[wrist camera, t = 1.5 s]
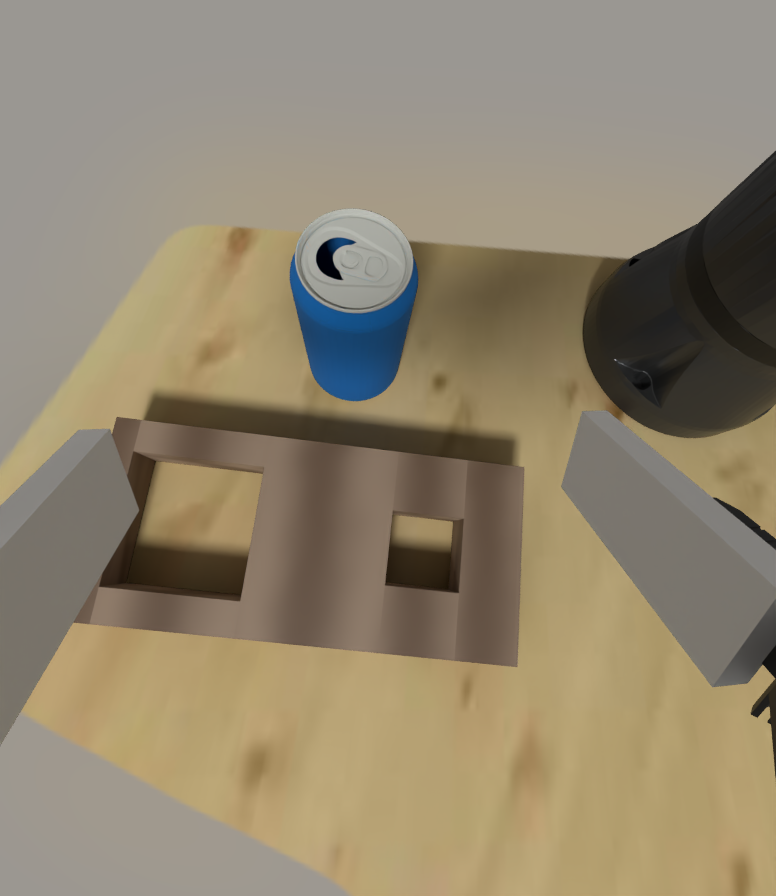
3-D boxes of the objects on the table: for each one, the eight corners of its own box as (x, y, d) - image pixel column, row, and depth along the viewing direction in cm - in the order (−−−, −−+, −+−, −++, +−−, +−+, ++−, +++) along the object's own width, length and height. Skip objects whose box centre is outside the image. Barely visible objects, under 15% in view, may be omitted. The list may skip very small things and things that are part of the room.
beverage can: (325, 314, 33) (310, 185, 21) (407, 337, 33) (436, 222, 21) (299, 390, 31) (266, 296, 20) (384, 415, 31) (402, 336, 20)
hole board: (508, 474, 31) (524, 467, 28) (500, 654, 28) (517, 667, 25) (140, 429, 30) (116, 417, 27) (93, 613, 27) (61, 621, 24)
